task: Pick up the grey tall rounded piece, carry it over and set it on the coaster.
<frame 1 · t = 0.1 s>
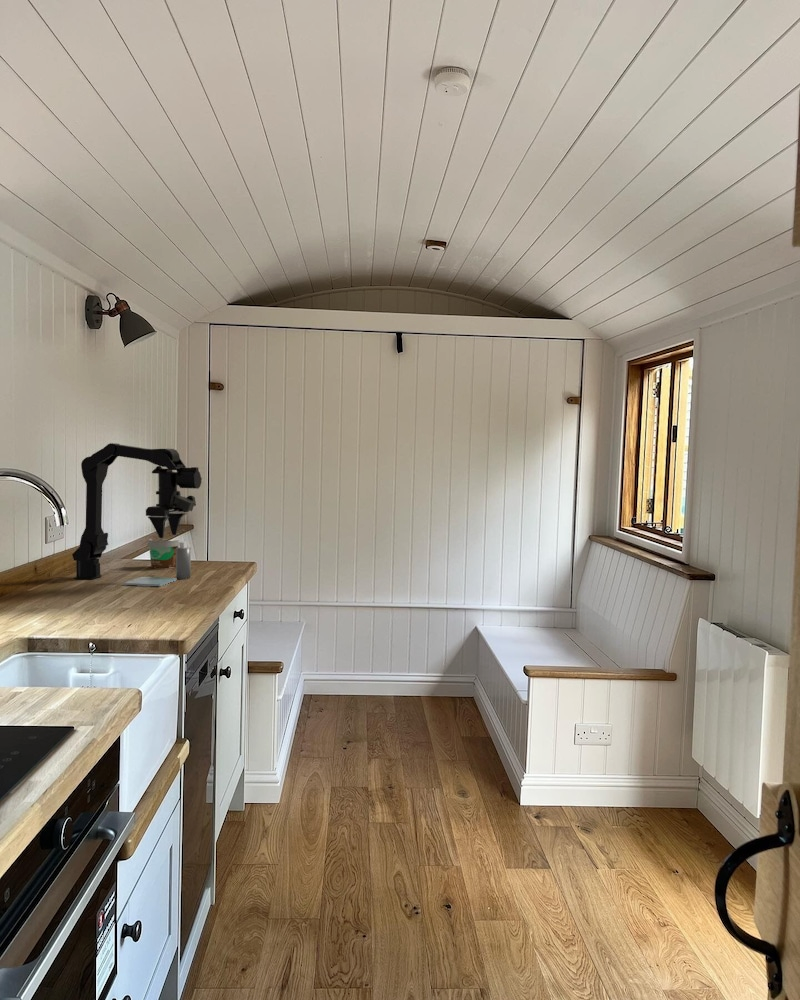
hand: (168, 536, 249), 15 cm above the countertop, tool pointing down, fingers open, 9 cm apart
coaster: (150, 582, 246), on the countertop
grey tall rounded piece: (183, 578, 256), on the countertop
food container: (160, 568, 276), on the countertop
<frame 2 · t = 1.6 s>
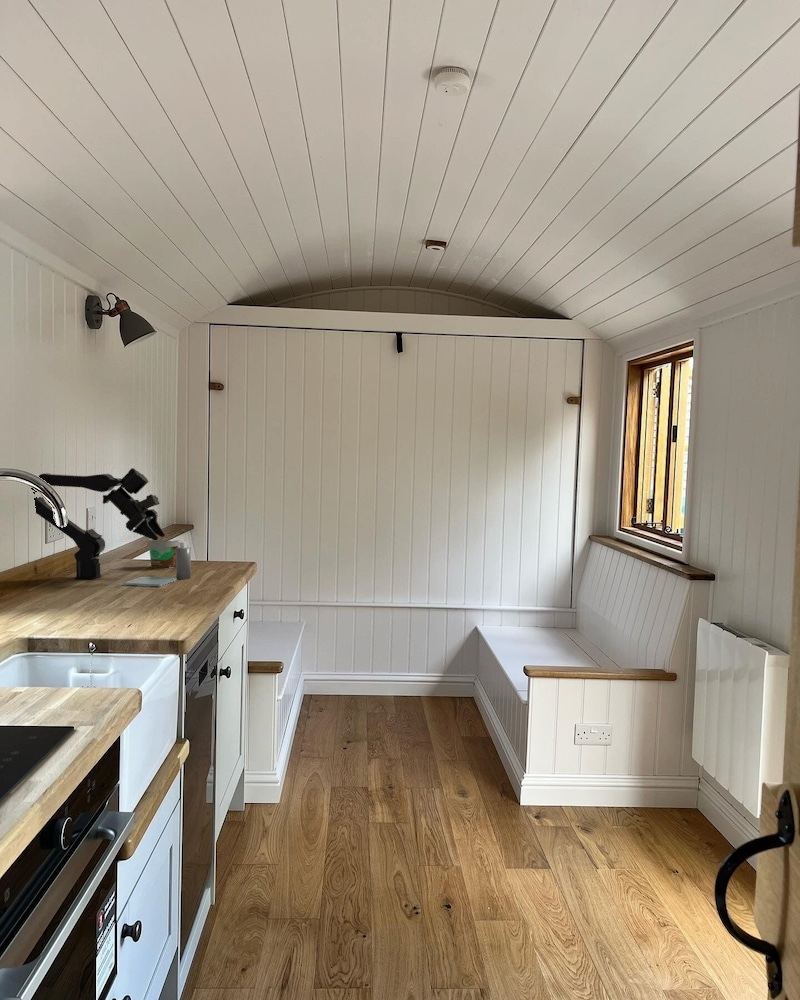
hand: (160, 537, 255), 13 cm above the countertop, tool tilted 45°, fingers open, 9 cm apart
nothing on the countertop moved.
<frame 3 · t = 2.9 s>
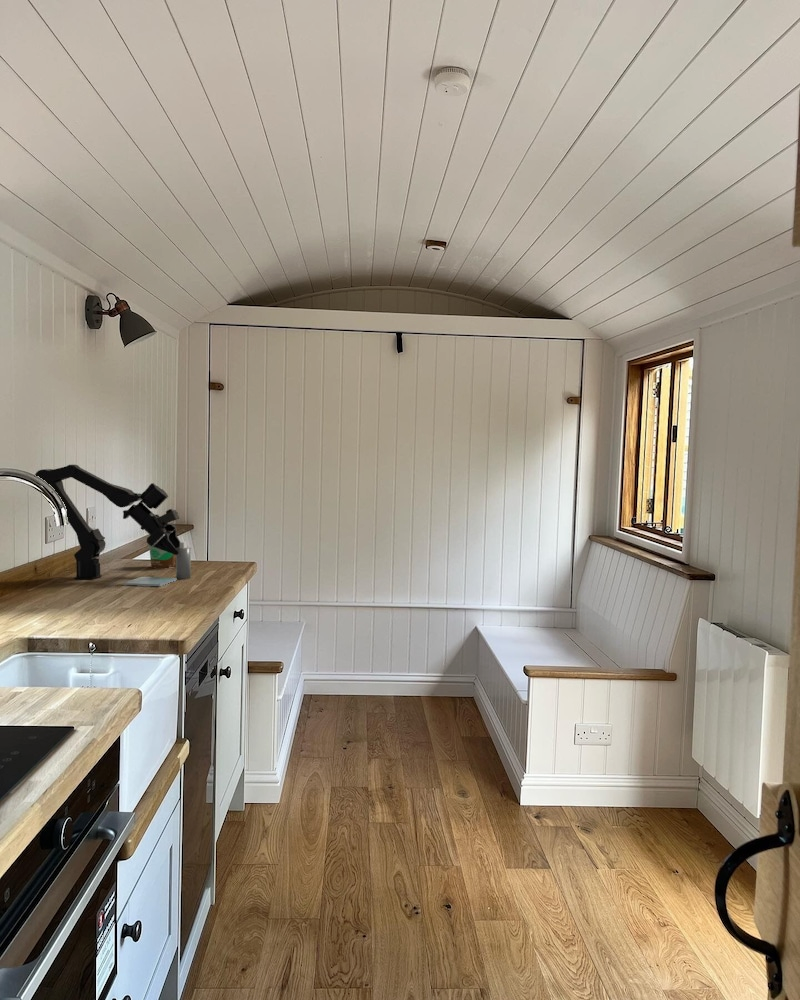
hand: (180, 552, 255), 9 cm above the countertop, tool tilted 45°, fingers open, 9 cm apart
nothing on the countertop moved.
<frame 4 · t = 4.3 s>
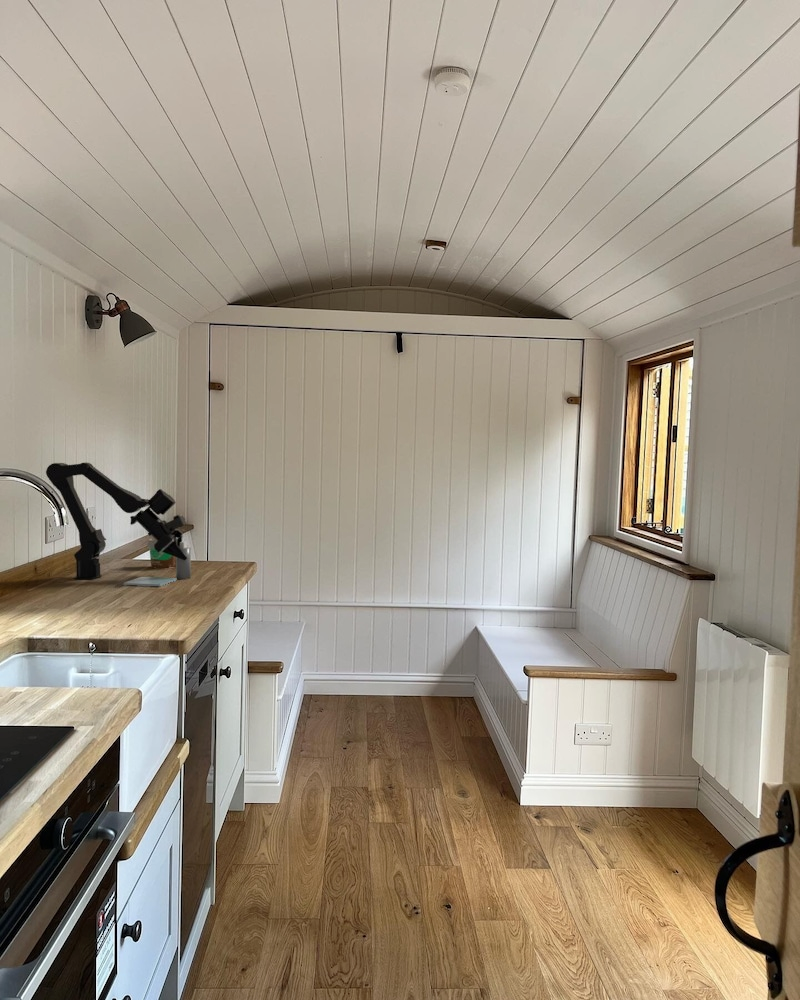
hand: (187, 558, 256), 7 cm above the countertop, tool tilted 45°, fingers closed on grey tall rounded piece, 5 cm apart
grey tall rounded piece: (183, 578, 256), on the countertop, touching gripper
everything else where it was.
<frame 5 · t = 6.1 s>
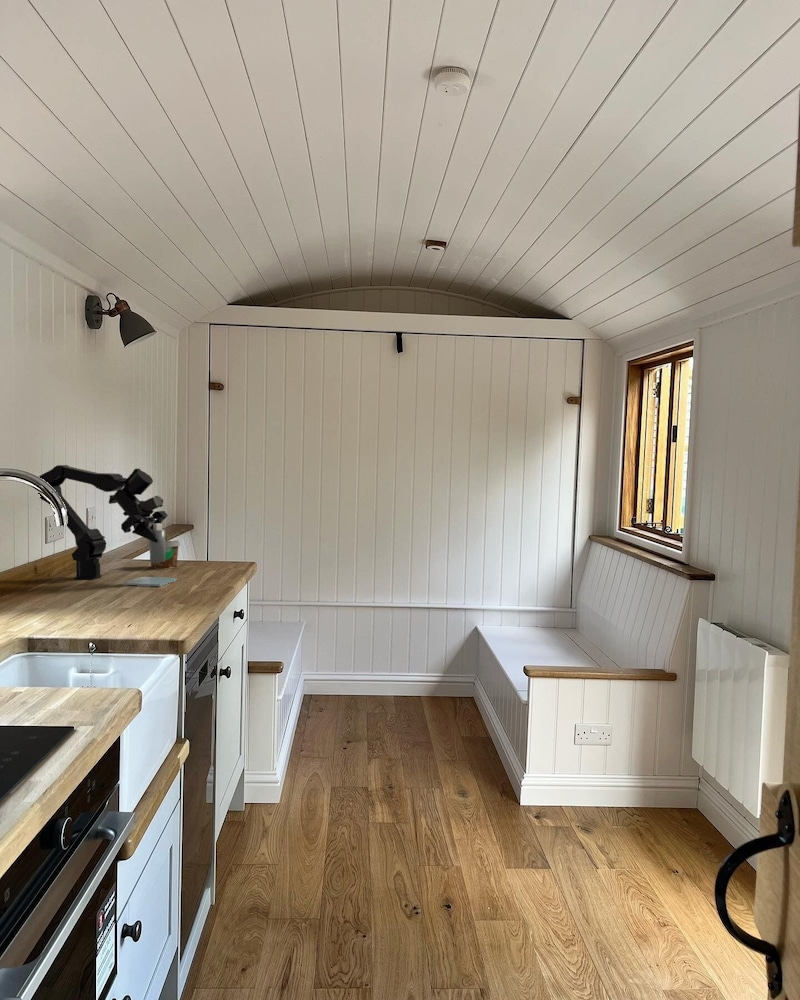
hand: (161, 540, 247), 13 cm above the countertop, tool tilted 45°, fingers closed on grey tall rounded piece, 5 cm apart
grey tall rounded piece: (157, 561, 247), point 7 cm above the countertop, touching gripper
everything else where it was.
when the fingers open (8 cm above the countertop, at t = 7.9 s): grey tall rounded piece drops 1 cm, resting on coaster.
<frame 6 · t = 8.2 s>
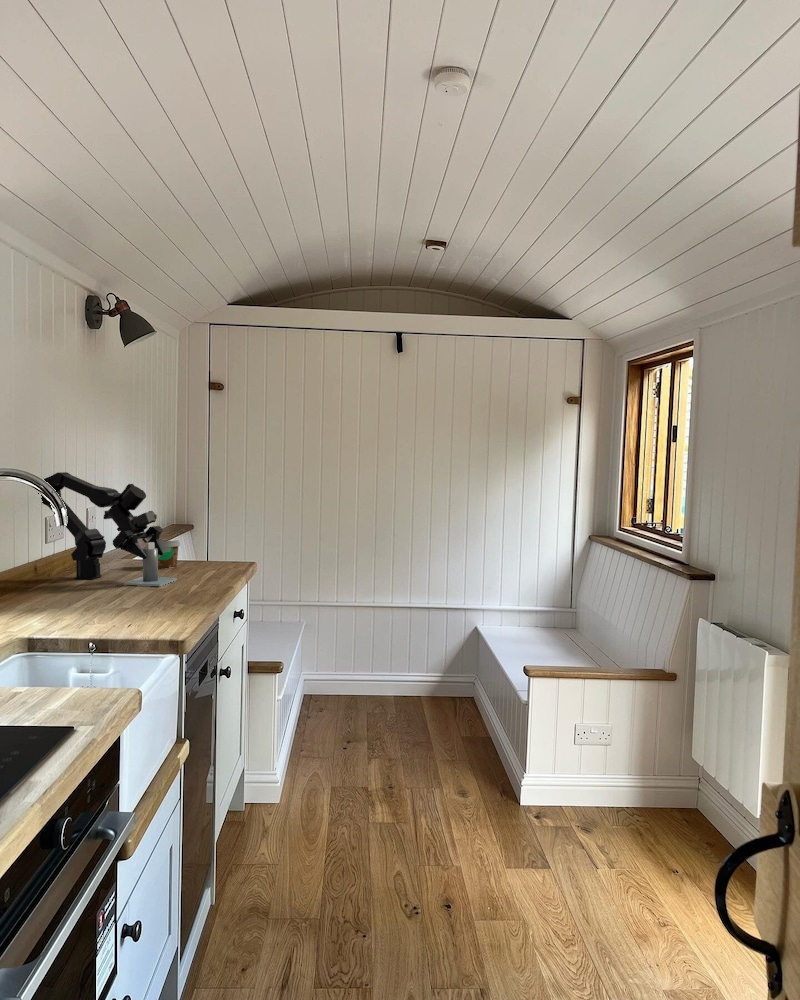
hand: (154, 556, 245), 9 cm above the countertop, tool tilted 45°, fingers open, 8 cm apart
grey tall rounded piece: (150, 580, 246), point 1 cm above the countertop, touching coaster
everything else where it was.
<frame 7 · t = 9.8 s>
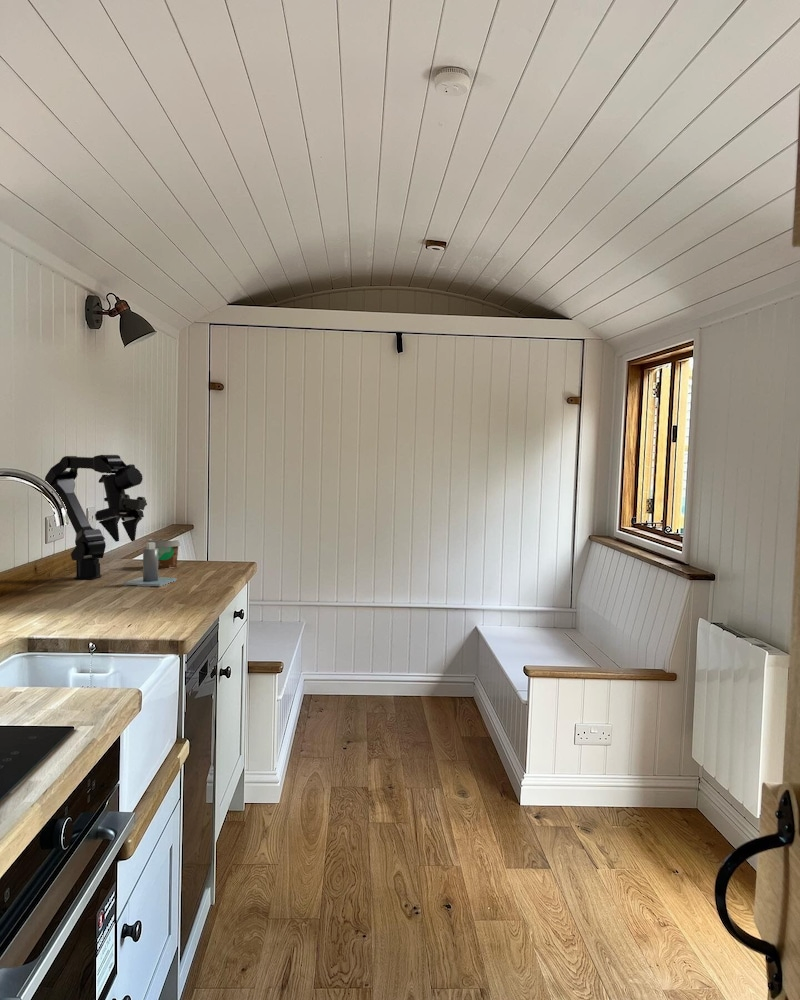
hand: (125, 541, 244), 13 cm above the countertop, tool tilted 15°, fingers open, 9 cm apart
nothing on the countertop moved.
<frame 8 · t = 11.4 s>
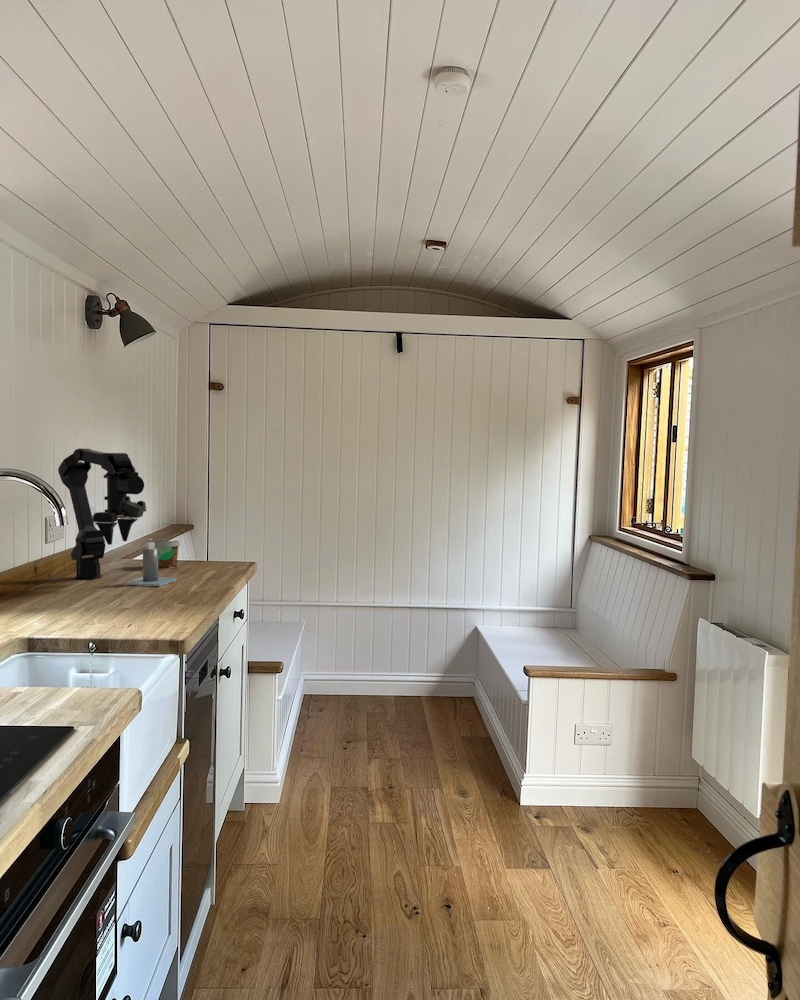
hand: (117, 542, 243), 13 cm above the countertop, tool pointing down, fingers open, 9 cm apart
nothing on the countertop moved.
at the end: grey tall rounded piece inside the target area on the coaster (0.1 cm from its centre), point 0.8 cm above the coaster's base; grey tall rounded piece tilted 1°; the gripper is holding nothing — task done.
